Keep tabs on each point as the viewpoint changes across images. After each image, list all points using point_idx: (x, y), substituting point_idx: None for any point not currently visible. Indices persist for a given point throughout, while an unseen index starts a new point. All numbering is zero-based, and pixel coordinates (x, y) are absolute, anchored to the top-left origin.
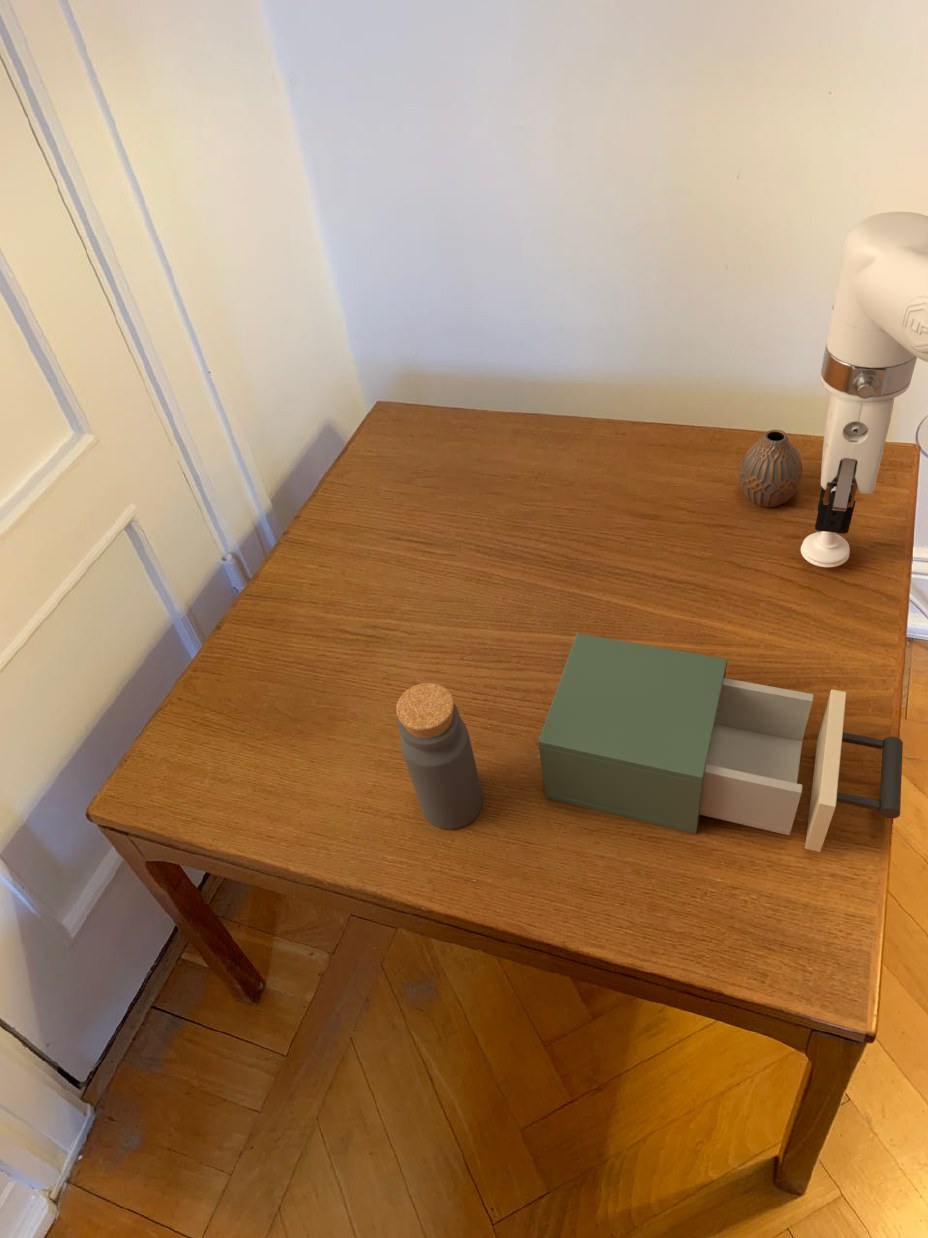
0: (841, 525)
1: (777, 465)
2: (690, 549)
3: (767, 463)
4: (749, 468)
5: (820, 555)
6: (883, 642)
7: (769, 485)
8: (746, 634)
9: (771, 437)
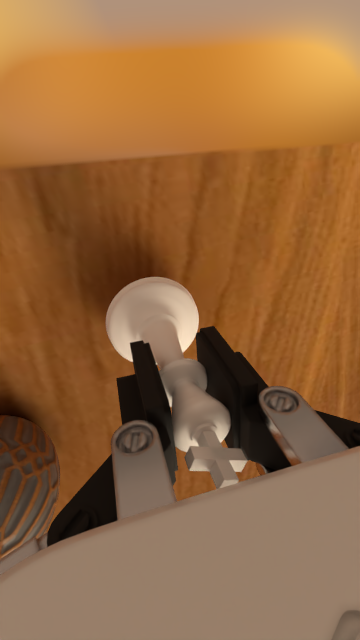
0: (243, 357)
1: (23, 527)
2: (180, 467)
3: None
4: None
5: (189, 329)
6: (319, 167)
7: (52, 484)
8: (320, 355)
9: None
